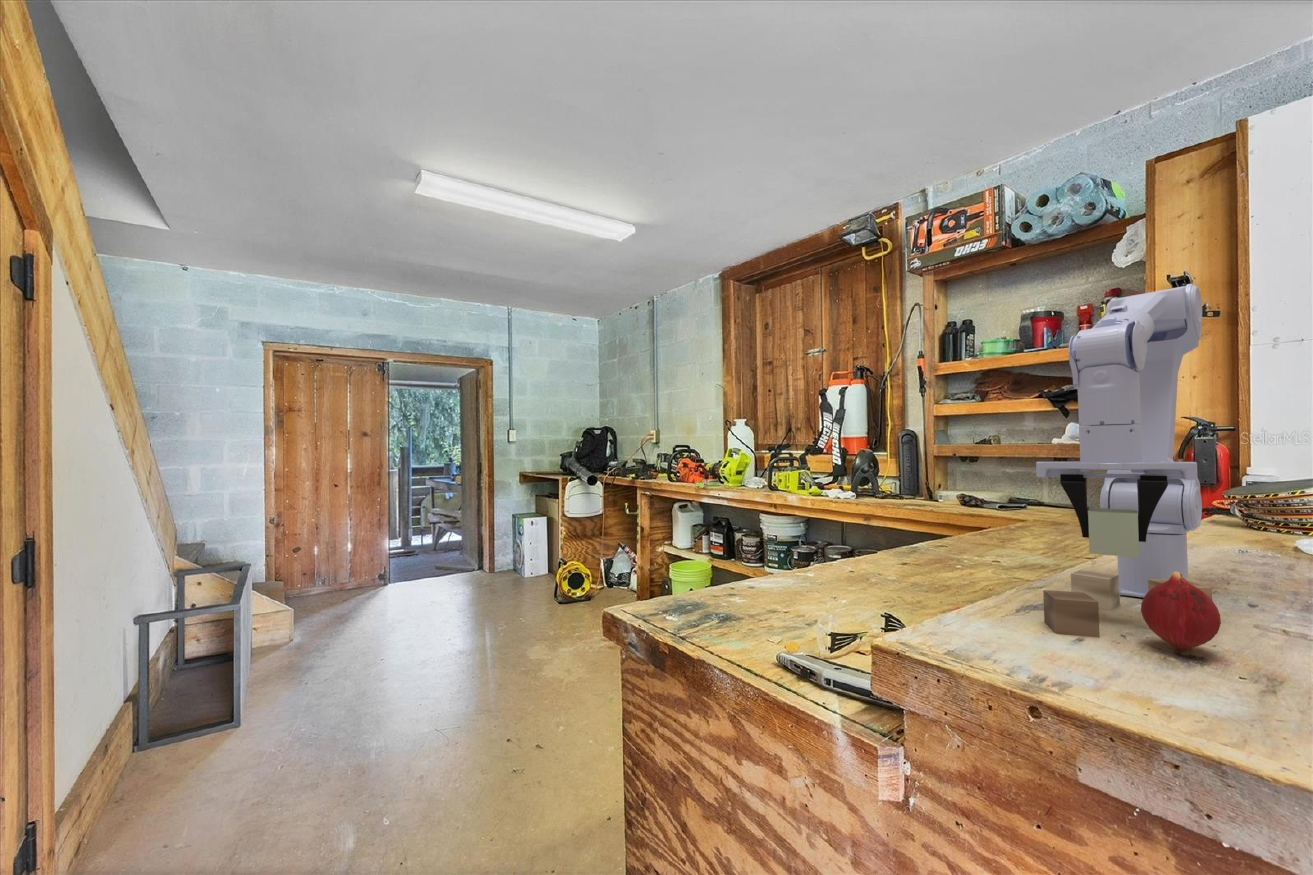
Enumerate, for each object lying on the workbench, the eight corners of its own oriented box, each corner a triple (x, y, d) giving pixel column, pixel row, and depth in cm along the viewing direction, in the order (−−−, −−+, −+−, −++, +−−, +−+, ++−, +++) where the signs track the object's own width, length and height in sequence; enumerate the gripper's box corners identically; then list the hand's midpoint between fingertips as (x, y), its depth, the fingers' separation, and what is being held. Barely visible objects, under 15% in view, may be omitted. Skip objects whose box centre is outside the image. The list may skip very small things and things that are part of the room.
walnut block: (1044, 623, 64) (1043, 589, 64) (1084, 626, 62) (1083, 592, 62) (1056, 634, 60) (1054, 599, 60) (1099, 638, 59) (1098, 601, 59)
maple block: (1082, 598, 73) (1081, 569, 73) (1119, 605, 70) (1118, 574, 70) (1071, 603, 71) (1070, 573, 71) (1109, 610, 68) (1108, 579, 68)
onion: (1239, 663, 51) (1236, 580, 51) (1169, 660, 52) (1166, 578, 52) (1191, 641, 57) (1188, 566, 57) (1129, 638, 58) (1127, 565, 58)
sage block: (1090, 547, 67) (1089, 507, 67) (1137, 551, 64) (1136, 509, 64) (1089, 553, 63) (1088, 511, 63) (1139, 557, 60) (1137, 513, 60)
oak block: (1148, 610, 67) (1147, 579, 68) (1182, 610, 67) (1181, 579, 67) (1176, 621, 63) (1175, 587, 64) (1213, 621, 63) (1211, 587, 63)
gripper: (1032, 427, 66) (1035, 537, 65) (1199, 422, 56) (1204, 550, 56) (1037, 428, 71) (1041, 529, 71) (1191, 423, 61) (1195, 540, 61)
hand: (1113, 538), depth 64 cm, fingers closed on sage block, 4 cm apart
